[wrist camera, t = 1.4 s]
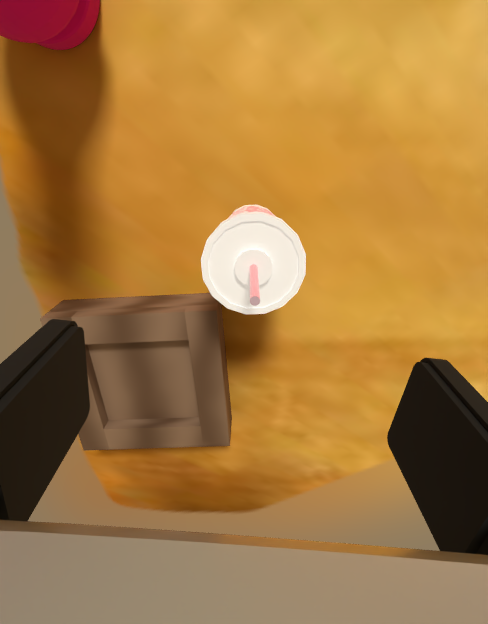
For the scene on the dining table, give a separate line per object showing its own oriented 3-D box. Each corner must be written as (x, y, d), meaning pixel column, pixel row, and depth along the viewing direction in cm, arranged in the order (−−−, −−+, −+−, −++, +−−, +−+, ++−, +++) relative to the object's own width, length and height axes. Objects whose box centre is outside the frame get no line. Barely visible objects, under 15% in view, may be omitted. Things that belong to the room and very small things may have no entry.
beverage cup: (281, 185, 27) (311, 216, 14) (296, 260, 29) (332, 344, 17) (205, 205, 28) (167, 252, 15) (225, 277, 30) (208, 370, 17)
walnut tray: (220, 290, 31) (216, 310, 27) (231, 415, 37) (229, 445, 33) (65, 298, 32) (40, 318, 28) (100, 419, 37) (83, 450, 34)
